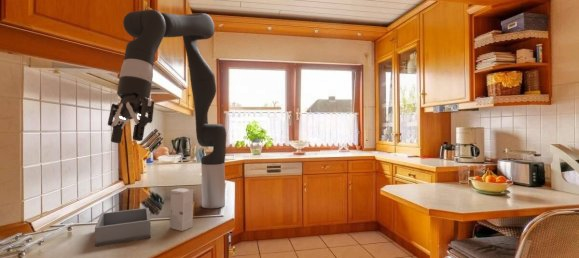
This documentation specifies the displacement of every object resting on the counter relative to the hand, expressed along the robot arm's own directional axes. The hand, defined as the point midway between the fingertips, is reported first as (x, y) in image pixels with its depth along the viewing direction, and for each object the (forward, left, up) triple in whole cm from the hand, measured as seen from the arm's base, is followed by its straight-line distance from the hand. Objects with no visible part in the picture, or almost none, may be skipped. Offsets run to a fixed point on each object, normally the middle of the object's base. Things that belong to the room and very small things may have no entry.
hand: (126, 141), depth 74 cm
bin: (-19, -1, -28) cm, 34 cm away
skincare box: (-16, +15, -29) cm, 36 cm away
